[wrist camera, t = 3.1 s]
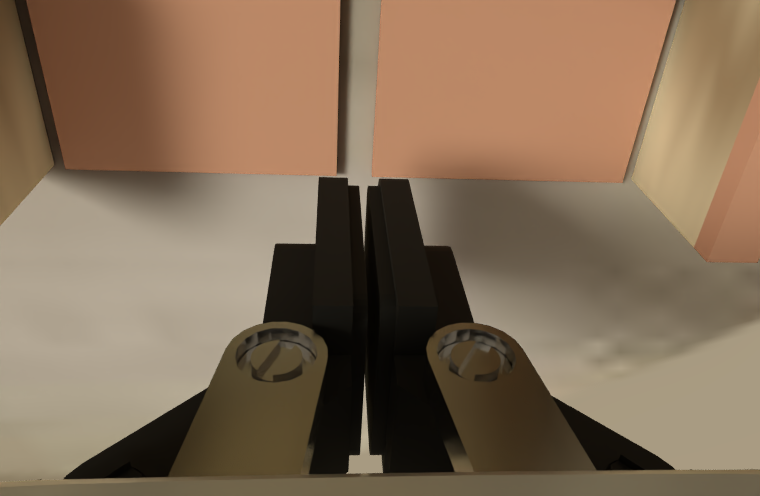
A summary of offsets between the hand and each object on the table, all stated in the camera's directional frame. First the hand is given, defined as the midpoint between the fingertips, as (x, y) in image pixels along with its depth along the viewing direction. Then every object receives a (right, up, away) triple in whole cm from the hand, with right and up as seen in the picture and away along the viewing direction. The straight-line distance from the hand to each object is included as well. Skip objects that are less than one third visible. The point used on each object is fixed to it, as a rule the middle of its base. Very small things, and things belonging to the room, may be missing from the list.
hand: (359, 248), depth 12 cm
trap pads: (0, +4, +1) cm, 4 cm away
